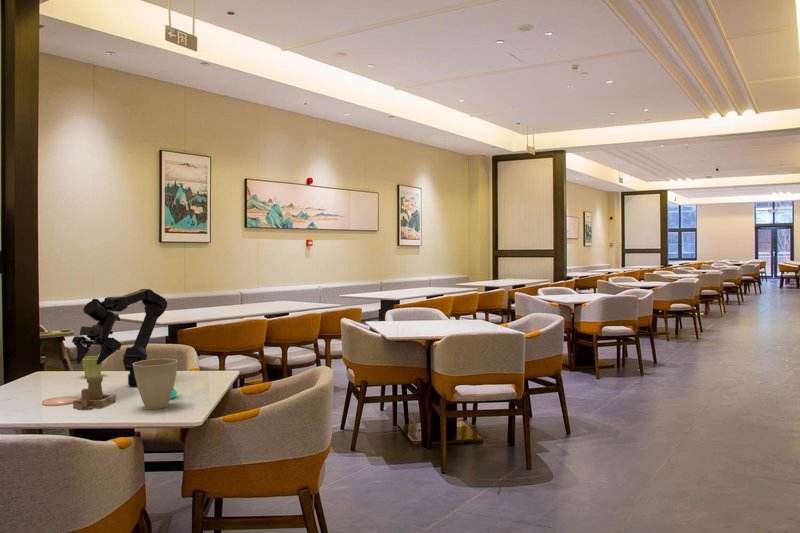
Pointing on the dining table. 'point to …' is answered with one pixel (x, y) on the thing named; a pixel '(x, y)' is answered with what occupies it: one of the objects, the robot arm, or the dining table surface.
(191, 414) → the dining table surface
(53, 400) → the coaster
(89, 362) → the plant pot
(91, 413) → the dining table surface
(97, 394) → the olive bulb shape
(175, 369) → the plant pot
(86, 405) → the collar stand
